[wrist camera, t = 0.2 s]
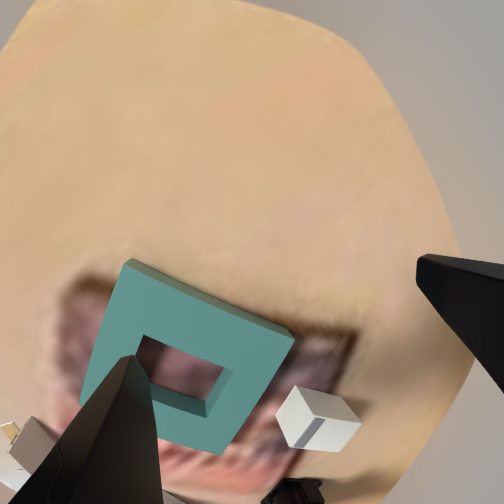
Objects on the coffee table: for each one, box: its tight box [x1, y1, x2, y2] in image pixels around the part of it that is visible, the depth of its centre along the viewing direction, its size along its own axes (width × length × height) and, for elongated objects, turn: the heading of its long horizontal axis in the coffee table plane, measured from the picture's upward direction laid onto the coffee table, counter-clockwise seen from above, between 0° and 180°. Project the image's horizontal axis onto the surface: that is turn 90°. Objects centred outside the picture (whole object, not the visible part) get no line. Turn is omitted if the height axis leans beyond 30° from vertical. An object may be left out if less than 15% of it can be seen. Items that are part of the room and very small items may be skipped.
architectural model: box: [0, 415, 56, 475], centre depth 18 cm, size 3×7×7 cm, turn 25°
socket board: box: [79, 258, 295, 455], centre depth 22 cm, size 14×14×2 cm
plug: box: [276, 385, 362, 452], centre depth 24 cm, size 4×6×5 cm, turn 62°
